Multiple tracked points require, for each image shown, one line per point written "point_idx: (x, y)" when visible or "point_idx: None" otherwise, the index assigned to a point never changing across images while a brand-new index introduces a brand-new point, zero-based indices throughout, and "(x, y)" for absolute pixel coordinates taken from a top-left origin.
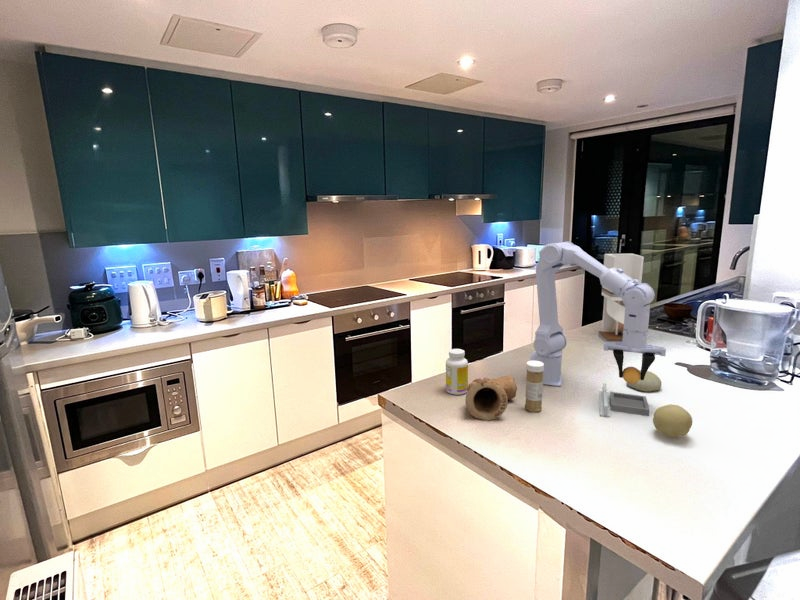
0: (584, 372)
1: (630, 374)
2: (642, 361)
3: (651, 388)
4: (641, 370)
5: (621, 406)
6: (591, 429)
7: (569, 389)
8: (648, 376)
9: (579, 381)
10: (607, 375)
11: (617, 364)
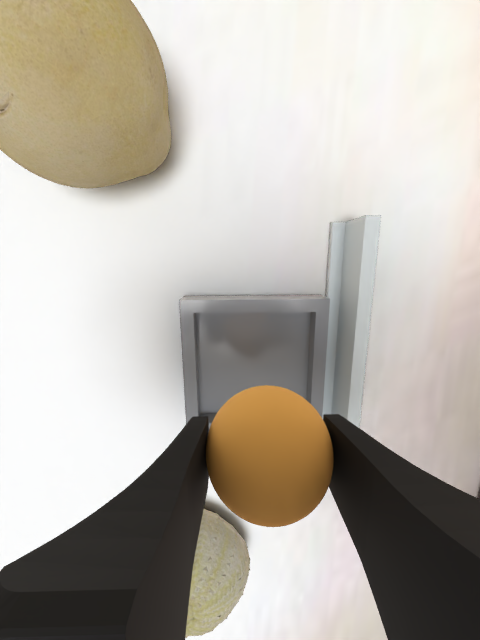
0: None
1: (286, 410)
2: (182, 602)
3: None
4: (199, 494)
5: (288, 299)
6: (420, 66)
7: (457, 434)
8: None
9: None
10: (303, 596)
11: (436, 478)
